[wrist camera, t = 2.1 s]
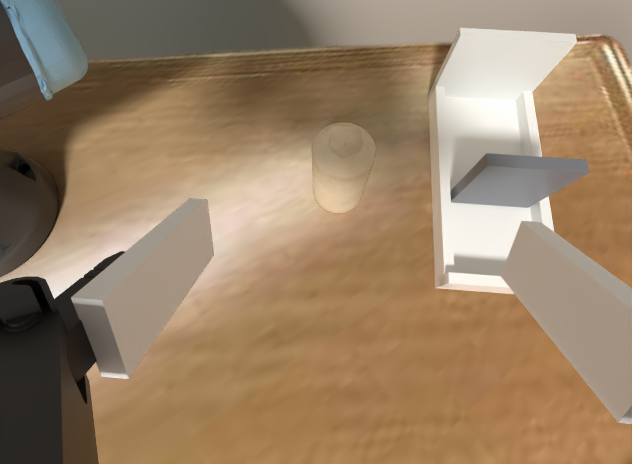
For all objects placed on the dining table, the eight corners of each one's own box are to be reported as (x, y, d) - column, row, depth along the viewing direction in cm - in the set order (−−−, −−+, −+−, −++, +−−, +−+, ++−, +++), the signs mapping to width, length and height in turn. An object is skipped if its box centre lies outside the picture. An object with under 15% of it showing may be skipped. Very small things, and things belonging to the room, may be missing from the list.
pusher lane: (435, 288, 32) (479, 272, 23) (428, 94, 39) (459, 27, 30) (545, 296, 31) (631, 284, 23) (517, 100, 38) (575, 34, 30)
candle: (303, 187, 35) (297, 135, 26) (340, 160, 36) (348, 99, 27) (334, 223, 34) (341, 182, 24) (372, 194, 35) (393, 143, 25)
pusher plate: (449, 202, 33) (487, 165, 26) (449, 192, 33) (486, 153, 26) (528, 207, 33) (589, 172, 25) (526, 197, 33) (586, 159, 26)
